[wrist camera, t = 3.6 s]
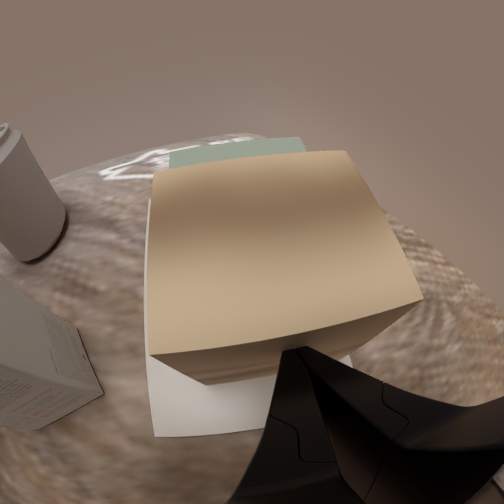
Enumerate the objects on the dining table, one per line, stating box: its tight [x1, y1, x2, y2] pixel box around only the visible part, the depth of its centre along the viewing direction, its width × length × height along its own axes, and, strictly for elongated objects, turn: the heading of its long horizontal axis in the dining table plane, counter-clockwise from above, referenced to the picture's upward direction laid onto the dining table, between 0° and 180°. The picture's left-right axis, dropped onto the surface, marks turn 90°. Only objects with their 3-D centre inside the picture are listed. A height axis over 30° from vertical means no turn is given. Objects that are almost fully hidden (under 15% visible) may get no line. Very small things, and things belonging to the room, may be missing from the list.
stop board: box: [169, 137, 307, 169], centre depth 19 cm, size 2×9×5 cm, turn 100°
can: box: [0, 123, 66, 261], centre depth 16 cm, size 8×8×12 cm
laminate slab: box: [144, 199, 353, 437], centre depth 18 cm, size 18×12×1 cm, turn 10°
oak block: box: [147, 150, 424, 386], centre depth 12 cm, size 7×8×9 cm
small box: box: [0, 275, 104, 430], centre depth 10 cm, size 8×6×10 cm
